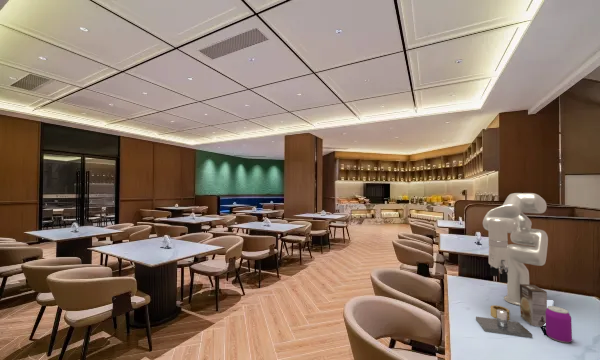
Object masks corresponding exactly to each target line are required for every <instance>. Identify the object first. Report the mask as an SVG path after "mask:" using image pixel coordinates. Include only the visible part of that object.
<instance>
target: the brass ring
mask: <svg viewBox="0 0 600 360" xmlns="http://www.w3.org/2000/svg"><path fill="white" fill-rule="evenodd" d="M497 309H501V310H504V311H506V312H507V321H511V320H510V319H511V313H510V309H509V308H507V307H504V306H502V305H494V304H493V305H490V316H491V317H492V318H493V319H497Z"/></svg>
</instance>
